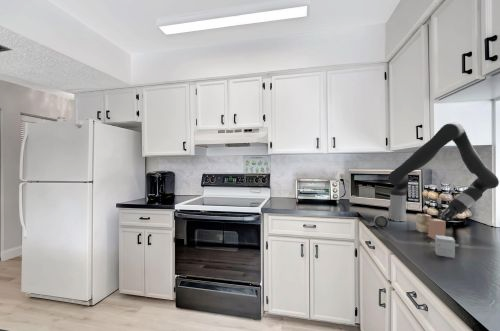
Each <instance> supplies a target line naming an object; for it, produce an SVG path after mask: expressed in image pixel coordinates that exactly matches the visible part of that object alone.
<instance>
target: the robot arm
mask: <svg viewBox="0 0 500 331" xmlns="http://www.w3.org/2000/svg"><path fill="white" fill-rule="evenodd" d="M451 141H452V142H453V143H454V144H455V145H456V147H457V149H458V151H459V154H460V157H461V159H462V162H463V163H464V165H465V166H466V168H467V169H468V171H469V172H470V173H471V174H473V175H475V176H476V177H477V178H476V179H475V180H474V181H472V182H471V184H470V185H469V186H468V187H467V188H466V189H465V190H463V191H462V192H461V193H459V194H457V195H456V196H455V197H454V198H453V199H451V200H450V201H449V202H447V207H446V208H445V209H444V210H442V209H440V210H439V211H438V213H437V215H436V217H437V219H440V220H443V221H445V222H446V223H448V222H450V221H453V220H457V219H458V216H457V215H458V214H459V215H462V214H464V213H465V212H466V211H467V210H468V209H469V208H471V207H472V206H473V205H474V204H476V202H477V201H478V200H479V199H481V198H482V196H483V194H484V193H485V192H486V191H487V190H491V189H492V190H493V189H495V188H497V187H498V186H499V185H500V184H499V183H500V180H499V178H498V177H497V175H496V174H495V173H494V172H493V171H492V170H490V169H489V168H488V166H486V164H485V163H484V161H483V160H482V158H481V157H480V156H479V154H478V152H477V151H476V150H475V147H474V146H473V144H472V142H471V141H470V139H469V136H468V134H467V132H466V129H465V127H464V126H463V125H462V124H461V123H459V122H449V123H445V124H444V125H442V126H441V127H440V129H439V130H437V132H436V133H435V134H434V136H432V138H430V140H428V141H427V142H426V143H424V144H423V145H422V146H421V147H420V148H418V149H417V150H416V151H415V152H414V153H412V154H411V155H410V156H409V157H408V158H406V160H405V161H404V162H402V163H401V165H400V166H398V167H396V168H395V169H393V170H392V171H391V172H390V173H389V174H388V177H387V181H388V183H389V184H391V185H394V187H393V188H392V189H390V194H389V195H390V196H389V197H390V198H389V200H390V202H389V205H388V220H390V219H391V220H390V221H393V220H394V221H393V222H399V221H404V222H406V219H407V218H406V216H407V212H406V211H407V210H406V209H407V193H408V190H409V174H411V173H412V172H414V171H416V170H418V169H420V168H423V167H424V166H425V165H427V164H428V163H429V162H431V161H432V160H433V159H434V158H435V157H436V156H437V154H438V153H439V151H440V150H441V149H442V148H443V147H444V146H445V145H446V146H447V144H449V143H450V142H451Z"/></svg>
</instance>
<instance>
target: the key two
mask: <svg viewBox="0 0 500 331" xmlns="http://www.w3.org/2000/svg"><path fill="white" fill-rule="evenodd" d="M446 223H447V222H445V221H443V220H440V219H438V218H431V219H429V230H428V233H427V236H428V237H429V238H430V239H433V240H435V235H440V236H446V229H447V228H446V226H447V225H446Z"/></svg>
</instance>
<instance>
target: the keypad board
mask: <svg viewBox="0 0 500 331" xmlns="http://www.w3.org/2000/svg"><path fill="white" fill-rule="evenodd" d="M426 243H427V244H429V245H432V246H435V241H426ZM455 247H460V244H459V243H455Z"/></svg>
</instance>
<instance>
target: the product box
mask: <svg viewBox="0 0 500 331" xmlns="http://www.w3.org/2000/svg"><path fill="white" fill-rule="evenodd" d="M434 242H435V245H434V252H435V254H436V256H439V257H446V258H452V259H455V257H456V246H455V244H456V240H455V238H454V237H453V236H446V235H445V236H440V235H435V239H434Z"/></svg>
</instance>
